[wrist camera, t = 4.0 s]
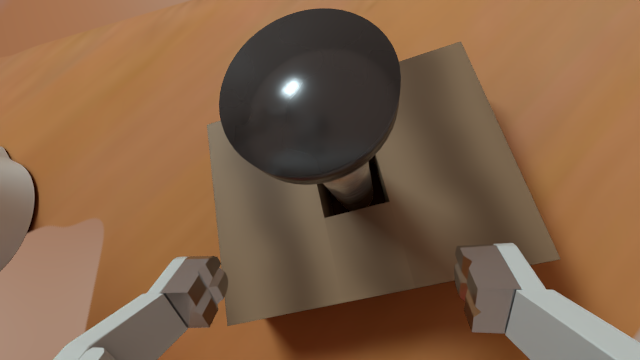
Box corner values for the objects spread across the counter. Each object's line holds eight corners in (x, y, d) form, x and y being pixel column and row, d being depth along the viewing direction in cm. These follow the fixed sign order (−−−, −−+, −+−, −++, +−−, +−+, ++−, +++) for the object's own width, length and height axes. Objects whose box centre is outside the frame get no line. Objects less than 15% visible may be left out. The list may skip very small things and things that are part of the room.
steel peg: (331, 233, 23) (229, 198, 8) (317, 171, 25) (211, 44, 9) (398, 217, 22) (428, 143, 7) (379, 154, 24) (370, -17, 9)
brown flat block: (260, 310, 23) (227, 325, 18) (237, 147, 27) (207, 125, 22) (518, 257, 20) (560, 259, 15) (445, 82, 24) (460, 41, 19)
